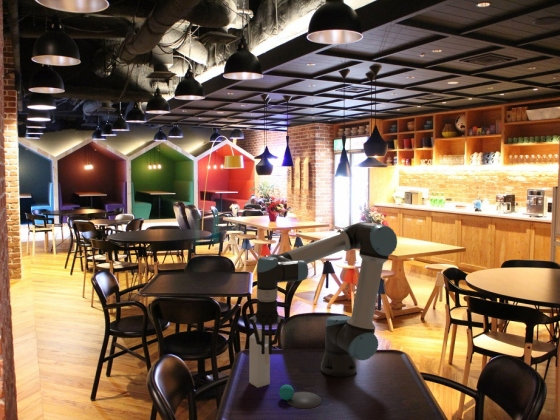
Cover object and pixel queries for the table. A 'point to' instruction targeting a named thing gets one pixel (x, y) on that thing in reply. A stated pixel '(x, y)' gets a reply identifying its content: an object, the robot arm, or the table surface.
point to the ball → (286, 392)
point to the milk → (258, 363)
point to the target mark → (304, 400)
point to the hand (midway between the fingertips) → (266, 362)
